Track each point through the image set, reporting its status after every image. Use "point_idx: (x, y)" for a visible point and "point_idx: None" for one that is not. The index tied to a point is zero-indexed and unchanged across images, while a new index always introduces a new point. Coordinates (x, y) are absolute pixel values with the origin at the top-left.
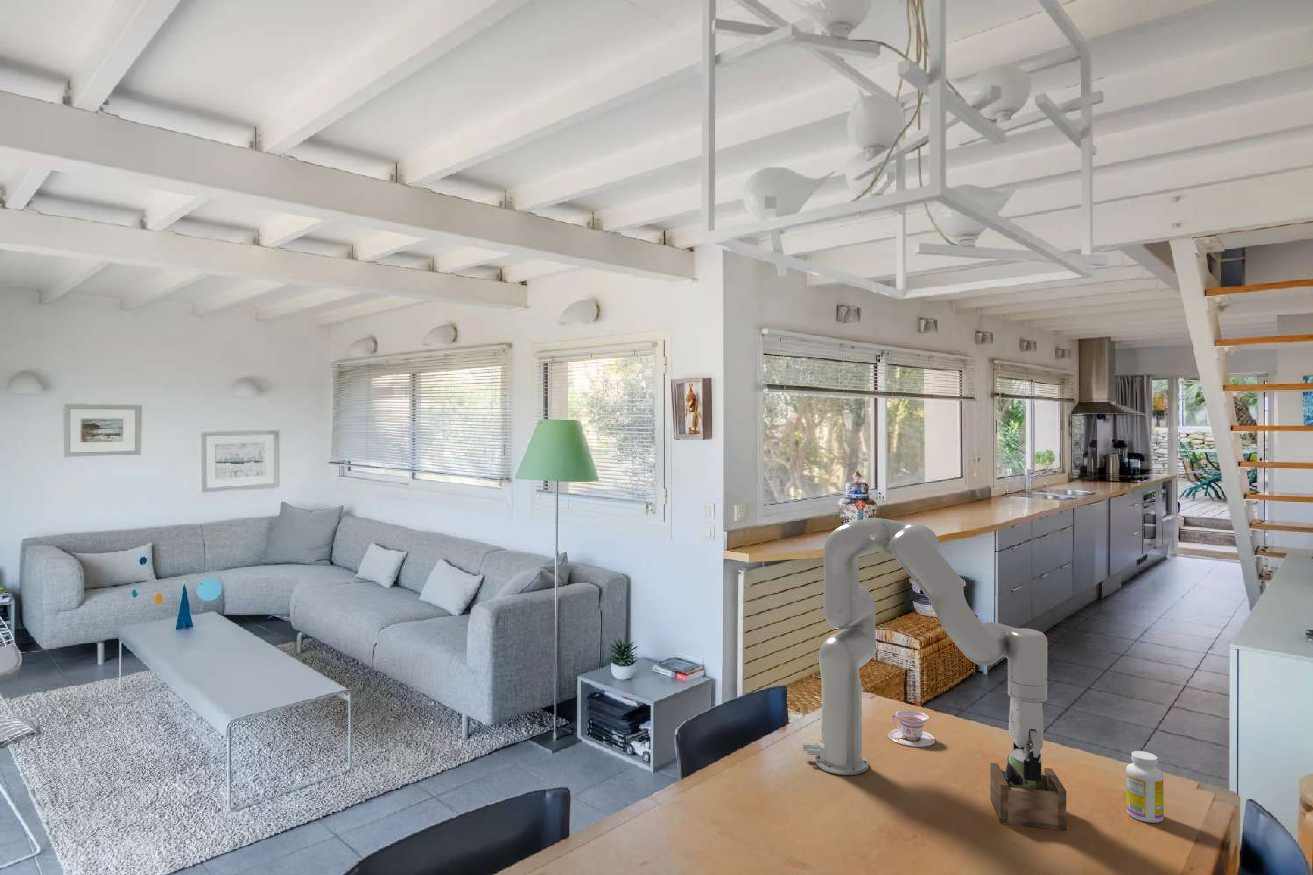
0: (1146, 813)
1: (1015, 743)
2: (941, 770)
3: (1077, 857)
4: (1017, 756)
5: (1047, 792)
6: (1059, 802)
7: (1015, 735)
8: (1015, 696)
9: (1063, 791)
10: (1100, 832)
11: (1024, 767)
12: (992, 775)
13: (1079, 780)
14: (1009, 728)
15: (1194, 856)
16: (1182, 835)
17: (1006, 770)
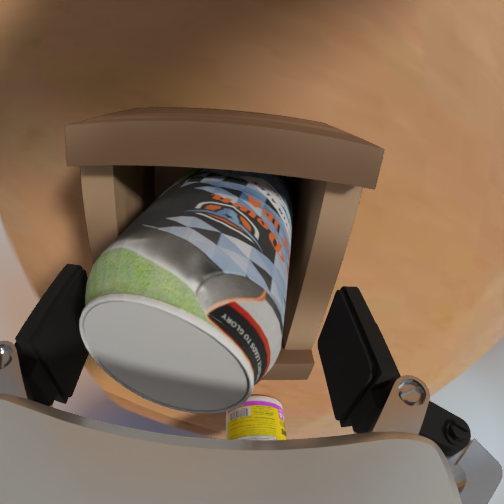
0: (227, 416)
1: (29, 415)
2: (488, 68)
3: (35, 259)
4: (129, 328)
5: None
6: None
7: (11, 495)
8: None
9: None
10: None
11: (36, 305)
12: (306, 128)
13: (398, 361)
14: (401, 487)
15: (133, 406)
16: (196, 418)
17: (202, 196)
